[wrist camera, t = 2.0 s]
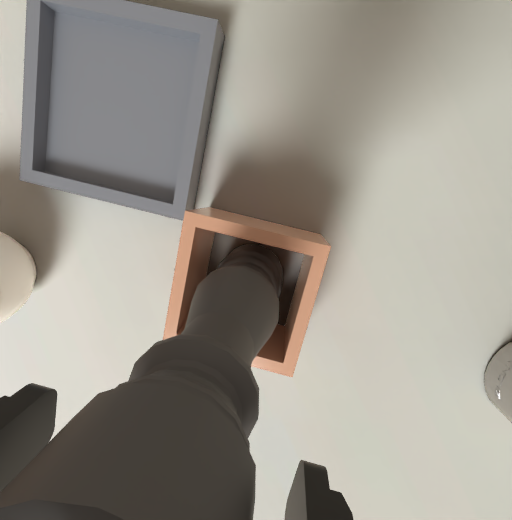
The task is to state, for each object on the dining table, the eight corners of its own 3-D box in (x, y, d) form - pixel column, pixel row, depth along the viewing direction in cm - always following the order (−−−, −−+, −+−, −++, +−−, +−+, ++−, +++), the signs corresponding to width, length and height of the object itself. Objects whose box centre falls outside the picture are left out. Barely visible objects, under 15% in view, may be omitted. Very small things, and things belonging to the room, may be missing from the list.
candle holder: (227, 237, 29) (-77, 443, 5) (289, 251, 29) (289, 550, 5) (216, 295, 31) (-62, 678, 6) (275, 309, 30) (218, 774, 6)
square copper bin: (321, 234, 28) (331, 246, 21) (291, 336, 31) (292, 377, 24) (209, 207, 29) (184, 210, 22) (190, 310, 31) (162, 341, 24)
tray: (224, 36, 25) (218, 19, 23) (192, 218, 29) (183, 220, 27) (51, 0, 26) (27, -20, 24) (41, 181, 30) (19, 180, 28)
